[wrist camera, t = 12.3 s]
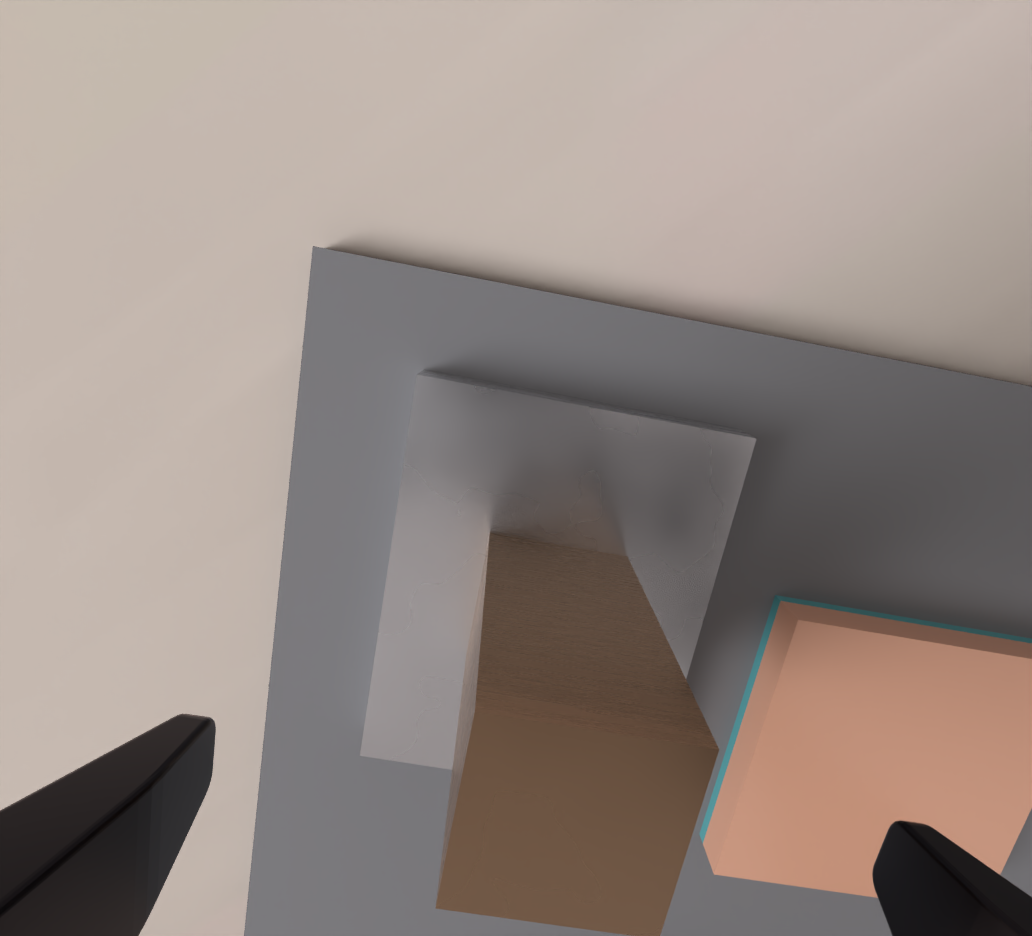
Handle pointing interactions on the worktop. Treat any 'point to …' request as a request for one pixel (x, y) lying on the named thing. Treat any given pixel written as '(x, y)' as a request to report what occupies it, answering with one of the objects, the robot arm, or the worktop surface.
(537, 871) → the brown block on base
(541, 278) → the worktop surface
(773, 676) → the tile
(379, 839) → the mat
